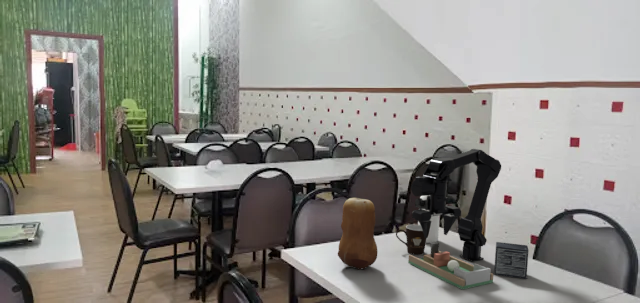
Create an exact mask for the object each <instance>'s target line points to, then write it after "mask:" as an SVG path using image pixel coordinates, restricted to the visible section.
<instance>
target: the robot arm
mask: <svg viewBox="0 0 640 303" xmlns="http://www.w3.org/2000/svg"><path fill="white" fill-rule="evenodd" d="M469 164H473V165H474V166H476V172H475V173H476V176H477V182H476V185H475V187H474V188H475V189H474V193H473V195H472V197H471V198H472V199H471V202H470V205H469V209H468V212H467V214H466V215H465V217H461V216H462V210H461V208H460V207H457V206H454V205H446V203H447V201H449V197H447V188H448V187H447V186H448V184H447V183H448V182H450V183H451V182H452V178H451V177H450V176H449V175H451V174H453V173H454V171H455V170H457V169H459V168H461V167H464V166H467V165H469ZM501 170H502V164H501V162H500V160H499V159H496V158H495V157H493V156H491V155H489V154H487V152H485V151H484V150H482V149H478V148H477V149H476V148H471V149H470V150H467V151H465V152H464V151H463V152H461V153H459V154H456V155H453V156H450V157H436V158H432V159H430V160H429V163H428V165H427V166H426V168H425V170H424V172H422V175H421V176H415V179H414V180H413V181H412V184H411V185H410V191H411V193H412V195H413V196H414V197H419V198H415V200H414V206H415V208H416V209H414V210H413V211H412V212H411V214H412V215H411V218H412V219H414V220H415V221H417V222H418V221H419V223H420V225H421V227H422V230H423V233H424V237H425V238H428V235H429V230H430V226H431V221H430V219H431V216H438V215H440V216H442V219H443V235H444V236H447V235H448V234H449V232H450V230H451V228H452V227H453V225H454V224H455V222H456V221H457V220H458V219H459V217H461V218H460V219H459V221H458V222H459V223H458V225H457V227H456V228H458V229H457V233H458V236H459V240H460V241H461V242H463V246H462V254H460V255H459V258H463V259H465V260H467V261H470V262H477V261H482V260H485V259H484V257H483V256H481V254H482V247H483V246H486V244H487V241H488V240H487V237H485V236H484V234H483V223H482V215H483V213H484V209H485V205H486V202H487V198H488V196H489V192H490V188H491V185H492V183H493V182H494V181H495V180H496V179H498V177H499V175H500V173H501ZM433 174H434V175H433ZM426 195H430V196H427V200H422V198H420V197H421V196H426ZM417 208H418V209H417ZM422 209H425V210H429V211H425V210H422Z"/></svg>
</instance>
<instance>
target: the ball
mask: <svg viewBox="0 0 640 303" xmlns="http://www.w3.org/2000/svg"><path fill="white" fill-rule="evenodd" d="M447 267H448V269H449V270H450V271H452V272H454V267H457V268H459V263H458V262H457V261H455V260H451V261H449V262H448V265H447Z"/></svg>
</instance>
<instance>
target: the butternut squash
mask: <svg viewBox="0 0 640 303" xmlns="http://www.w3.org/2000/svg"><path fill="white" fill-rule="evenodd" d="M341 216H342V218H341V220H342V221H341V225H340V227H341V230H342V236H341V238H340V241H339V244H338V252H337V257H338V258H339V259H340V260H341V261H342V263H343V264H344V265H345V266H347V267H350V268H354V269H356V270H365V269H367V268H368V267H370V266H372V265H373V264H374V263H375V262H376V260H377V258H378V246H377V243H376V240H375V235H374V234H375V232H374V231H375V225H376V209H375V205H374V203H373V202H372V201H371V200H369V199H365V198H359V197H350V198H347V199H346V200H345V201H344V203H343V205H342V215H341Z"/></svg>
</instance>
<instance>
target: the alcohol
mask: <svg viewBox="0 0 640 303" xmlns="http://www.w3.org/2000/svg"><path fill="white" fill-rule="evenodd" d="M433 175H434V174H433ZM427 196H430V195H426V196H419V198H422V200H427ZM422 210H425V209H422ZM425 211H429V210H425ZM440 216H441V215H438V216H431V219H430V221H431V226H430V230H429V235H428V238H426V243H425V244H431V243H432V242H437V243H438V240H439V233H440V232H439V231H440ZM417 225H420V223H419V221H417Z"/></svg>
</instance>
